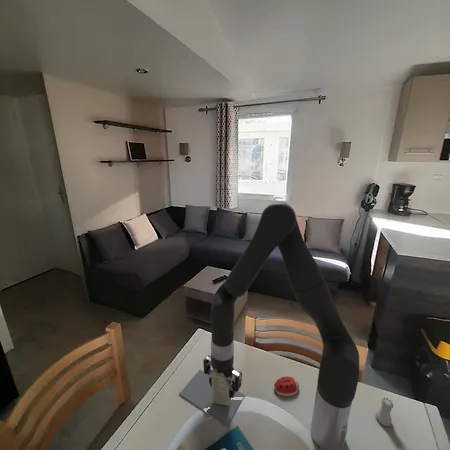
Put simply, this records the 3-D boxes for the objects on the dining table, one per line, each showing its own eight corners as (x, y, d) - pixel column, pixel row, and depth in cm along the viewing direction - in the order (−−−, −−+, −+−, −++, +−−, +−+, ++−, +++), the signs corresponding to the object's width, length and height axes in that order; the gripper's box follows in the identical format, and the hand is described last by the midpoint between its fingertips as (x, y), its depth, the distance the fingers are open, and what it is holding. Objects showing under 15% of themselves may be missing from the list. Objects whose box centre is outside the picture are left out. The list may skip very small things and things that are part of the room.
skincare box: (231, 394, 83) (232, 366, 80) (229, 406, 78) (230, 378, 75) (214, 391, 84) (214, 363, 81) (211, 403, 80) (211, 374, 76)
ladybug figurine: (303, 393, 85) (304, 385, 84) (278, 401, 82) (279, 393, 81) (292, 377, 91) (293, 370, 90) (269, 384, 88) (270, 376, 87)
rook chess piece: (375, 409, 79) (380, 391, 77) (391, 418, 77) (396, 400, 75) (373, 420, 76) (378, 401, 74) (390, 430, 73) (395, 411, 71)
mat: (244, 395, 83) (244, 395, 83) (227, 427, 74) (227, 426, 73) (199, 370, 93) (199, 369, 93) (179, 394, 84) (179, 393, 83)
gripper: (247, 352, 75) (245, 391, 80) (210, 334, 83) (210, 372, 87) (236, 368, 69) (234, 411, 73) (197, 348, 76) (198, 388, 81)
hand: (221, 389), depth 80 cm, fingers closed on skincare box, 7 cm apart
